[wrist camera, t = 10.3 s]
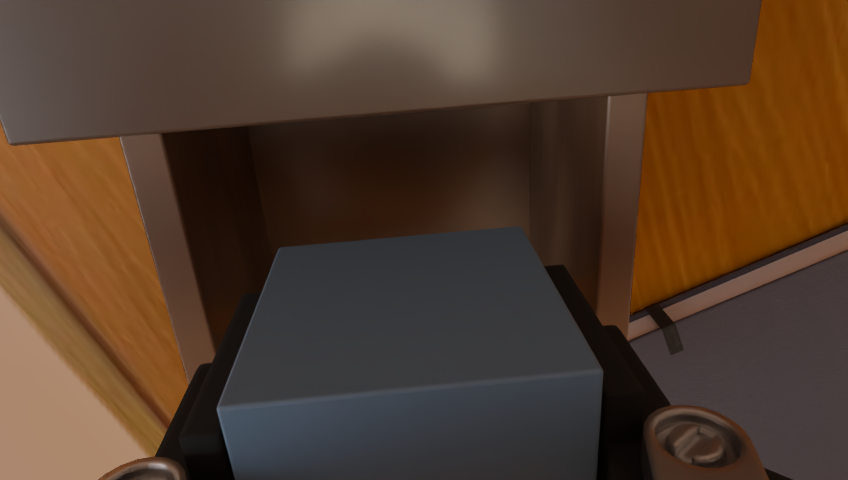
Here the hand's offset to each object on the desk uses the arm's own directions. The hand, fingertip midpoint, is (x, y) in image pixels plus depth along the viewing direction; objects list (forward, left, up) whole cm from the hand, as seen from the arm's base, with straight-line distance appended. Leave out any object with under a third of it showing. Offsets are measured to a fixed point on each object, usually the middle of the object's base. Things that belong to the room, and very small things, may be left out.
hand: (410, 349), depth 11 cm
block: (0, 0, 0) cm, 0 cm away
